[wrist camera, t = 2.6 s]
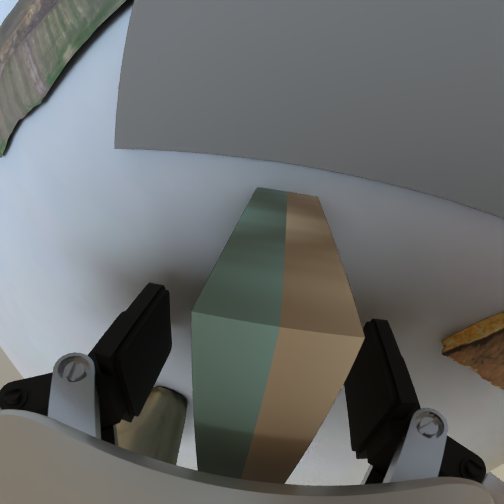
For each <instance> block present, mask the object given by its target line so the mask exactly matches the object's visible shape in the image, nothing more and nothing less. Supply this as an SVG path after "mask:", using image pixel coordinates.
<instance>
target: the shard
mask: <svg viewBox="0 0 504 504" xmlns="http://www.w3.org/2000/svg"><path fill="white" fill-rule="evenodd" d="M442 344H443V346H444V349H443V350H442V355H444V356H447V357H449V358H451V359H453V360H454V361H456V362H457V363H459V364H461V365H464V366H468V367H469V368H470V369H472V370H474V371H475V372H477V373H478V374H480V376H481V377H482V378H483V379H485V380H487V381H489V382H491V383H492V385H495V386H498V387H499V388H501V389H504V312H503V313H500V314H497V315H495V316H493V317H491V318H487V319H485V320H481V321H480V322H478V323H475V324H474V325H471V326H469V327H468V328H466V329H464V330H462V331H460V332H457V333H455V334H453V335H452V336H450V337H448V338H446V339H445V340H444V341H442Z"/></svg>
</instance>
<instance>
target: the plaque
mask: <svg viewBox="0 0 504 504" xmlns="http://www.w3.org/2000/svg"><path fill="white" fill-rule="evenodd" d="M364 339H365V336H364V332H363V329H362V325H361V322H360V318H359V315H358V312H357V308H356V305H355V302H354V299H353V296H352V292H351V289H350V286H349V283H348V280H347V277H346V274H345V271H344V268H343V265H342V262H341V259H340V256H339V253H338V250H337V248H336V245H335V242H334V239H333V236H332V234H331V231H330V228H329V226H328V223H327V220H326V218H325V215H324V212H323V210H322V207H321V205H320V202H319V199H318V197H316V196H310V195H304V194H298V193H292V192H286V191H279V190H273V189H266V188H259V187H257V189H256V190H255V192H254V194H253V196H252V198H251V199H250V201H249V203H248V205H247V207H246V209H245V210H244V212H243V214H242V216H241V218H240V220H239V222H238V223H237V225H236V227H235V229H234V231H233V233H232V235H231V236H230V238H229V240H228V242H227V244H226V246H225V248H224V250H223V251H222V253H221V255H220V257H219V259H218V261H217V263H216V265H215V267H214V269H213V270H212V272H211V274H210V276H209V278H208V280H207V282H206V284H205V286H204V288H203V290H202V292H201V293H200V295H199V297H198V299H197V301H196V303H195V305H194V307H193V309H192V311H191V345H192V386H193V409H194V427H195V442H196V456H197V467H198V471H201V472H205V473H210V474H215V475H220V476H225V477H231V478H237V479H244V480H251V481H258V482H267V483H277V484H284V483H285V482H286V480H287V479H288V478H289V476H290V475H291V473H292V472H293V470H294V469H295V467H296V466H297V464H298V463H299V461H300V459H301V458H302V456H303V455H304V453H305V452H306V450H307V448H308V447H309V445H310V444H311V442H312V440H313V439H314V437H315V435H316V434H317V432H318V430H319V428H320V427H321V425H322V423H323V421H324V420H325V418H326V416H327V414H328V412H329V411H330V409H331V407H332V405H333V403H334V401H335V399H336V398H337V396H338V394H339V392H340V390H341V388H342V386H343V384H344V382H345V380H346V378H347V376H348V374H349V372H350V370H351V367H352V365H353V363H354V361H355V359H356V357H357V355H358V352H359V350H360V348H361V346H362V343H363V341H364Z"/></svg>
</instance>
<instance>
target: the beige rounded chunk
mask: <svg viewBox="0 0 504 504" xmlns="http://www.w3.org/2000/svg"><path fill="white" fill-rule="evenodd" d="M186 409H187V401H186V399H185V398H184V397H182V396H181V395H179V394H177V393H175V392H173V391H171V390H168V389H165V388H162V387H157V388H154V389H153V390H152V391H151V392H150V394H149V397H148V399H147V401H146V403H145V405H144V407H143V409H142V411H141V413H140V415H139V416H138V417H136V416H134V418H133V420H132V422H131V423H130V422H127V421H125V420H121V422H120V423H118V424H116V428H117V437H118V445H119V447H121V448H124V449H127V450H129V451H132V452H135V453H138V454H141V455H144V456H147V457H150V458H153V459H156V460H159V461H163V462H166V463H169V464H173V465H176V463H177V457H178V453H179V448H180V443H181V438H182V433H183V428H184V423H185V417H186Z"/></svg>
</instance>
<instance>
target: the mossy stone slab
mask: <svg viewBox="0 0 504 504" xmlns="http://www.w3.org/2000/svg"><path fill="white" fill-rule="evenodd" d="M125 1H126V0H19V1H18V2H17V4H16V5H15V7H14V8H13V9H12V11H11V12H10V13H9V14H8V16H7V17H6V18H5V20H4V21H3V23H2V25H1V27H0V158H1V157H2V154H3V152H4V150H5V147H6V144H7V140H8V138H9V136H10V134H11V133H12V131H13V129H14V127H15V125H16V124H17V122H18V120H19V119H22V118H24V117H25V116H26V114H27V113H28V112H29V111H30V110H31V109H32V108H33V107H34V106H36V105H38V104H41V102H42V99H43V98H44V97H45V96H46V94H47V92H48V91H49V89H50V88H51V86H52V85H53V83H54V82H55V80H56V79H57V77H58V76H59V74H60V73H61V71H62V70H63V68H64V67H65V65H66V64H67V62H68V61H69V60H70V59H71V57H72V56H73V55H74V54H75V52H76V51H77V50H78V49H79V48H80V47H81V46H82V45H83V44H84V43H85V42H86V41H87V39H88V38H89V37H90V36H91V35H92V33H93V32H94V31H95V30H96V29H97V28H98V27H99V26H100V25H101V24H102V23H103V22H104V21H105V20H106V19H107V18H108V17H109V16H110V15H111V14H112V13H113V12H115V11H116V10H117V9H118V8H119V7H120V6H121V5H122V4H123V3H124V2H125Z"/></svg>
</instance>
